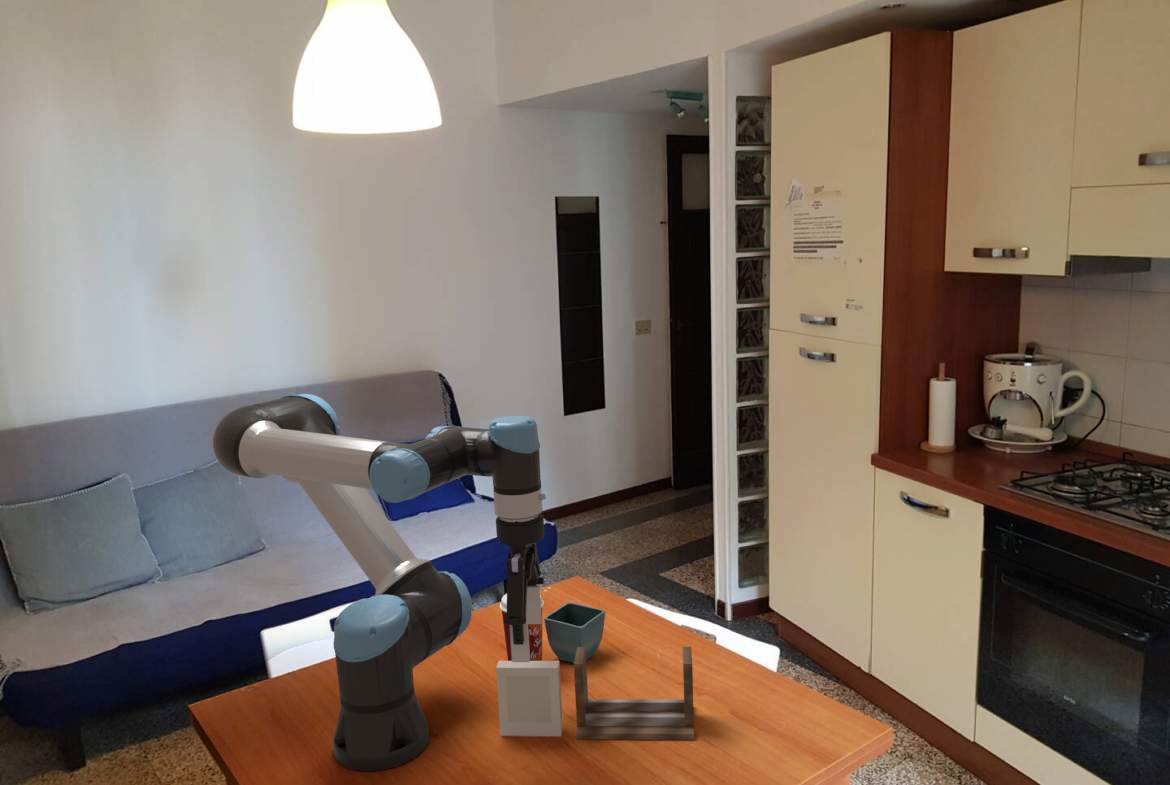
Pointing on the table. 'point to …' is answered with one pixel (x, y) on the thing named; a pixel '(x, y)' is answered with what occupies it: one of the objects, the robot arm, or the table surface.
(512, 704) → the door panel
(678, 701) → the track
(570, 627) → the flower pot
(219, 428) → the robot arm
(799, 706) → the table surface
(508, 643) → the coffee cup
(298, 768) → the table surface
